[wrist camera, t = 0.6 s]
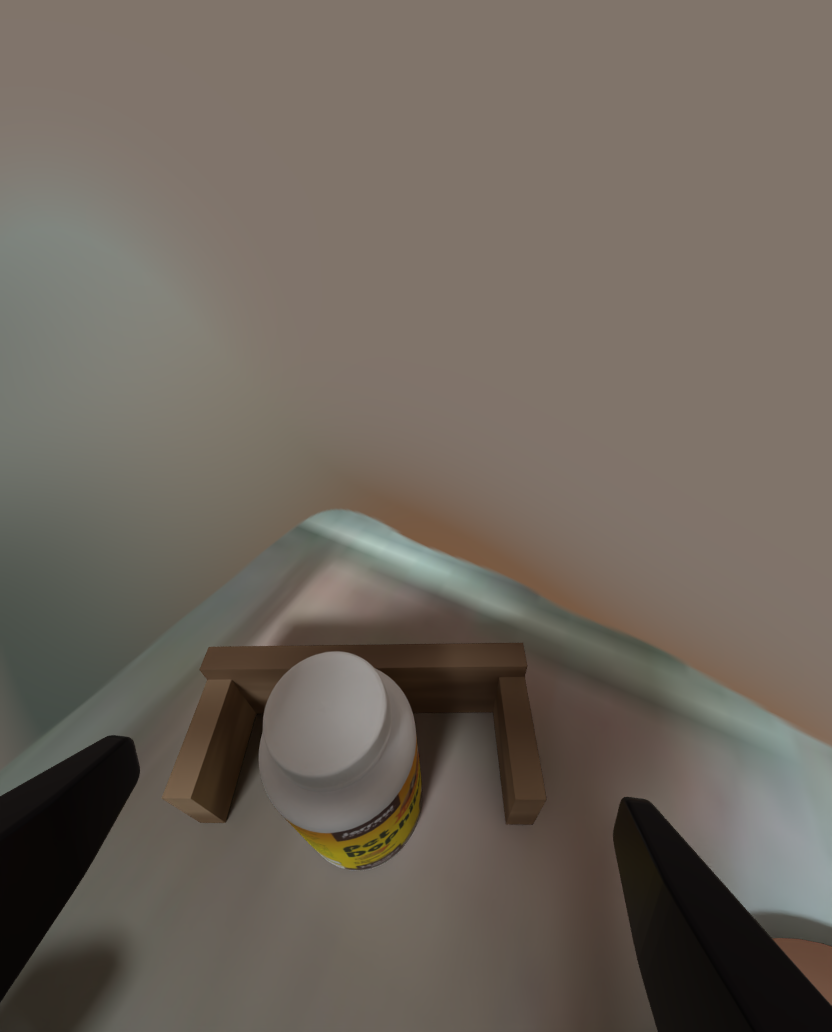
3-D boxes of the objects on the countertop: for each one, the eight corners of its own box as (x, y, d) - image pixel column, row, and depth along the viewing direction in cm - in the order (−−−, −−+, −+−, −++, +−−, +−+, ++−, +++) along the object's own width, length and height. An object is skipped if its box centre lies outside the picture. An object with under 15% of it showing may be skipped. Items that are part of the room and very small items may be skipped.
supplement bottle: (359, 910, 18) (301, 866, 11) (284, 801, 21) (200, 711, 14) (448, 795, 20) (449, 701, 13) (371, 714, 23) (338, 602, 16)
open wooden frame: (532, 824, 19) (550, 791, 16) (200, 822, 20) (149, 791, 17) (512, 690, 24) (522, 642, 21) (241, 692, 25) (208, 646, 21)
